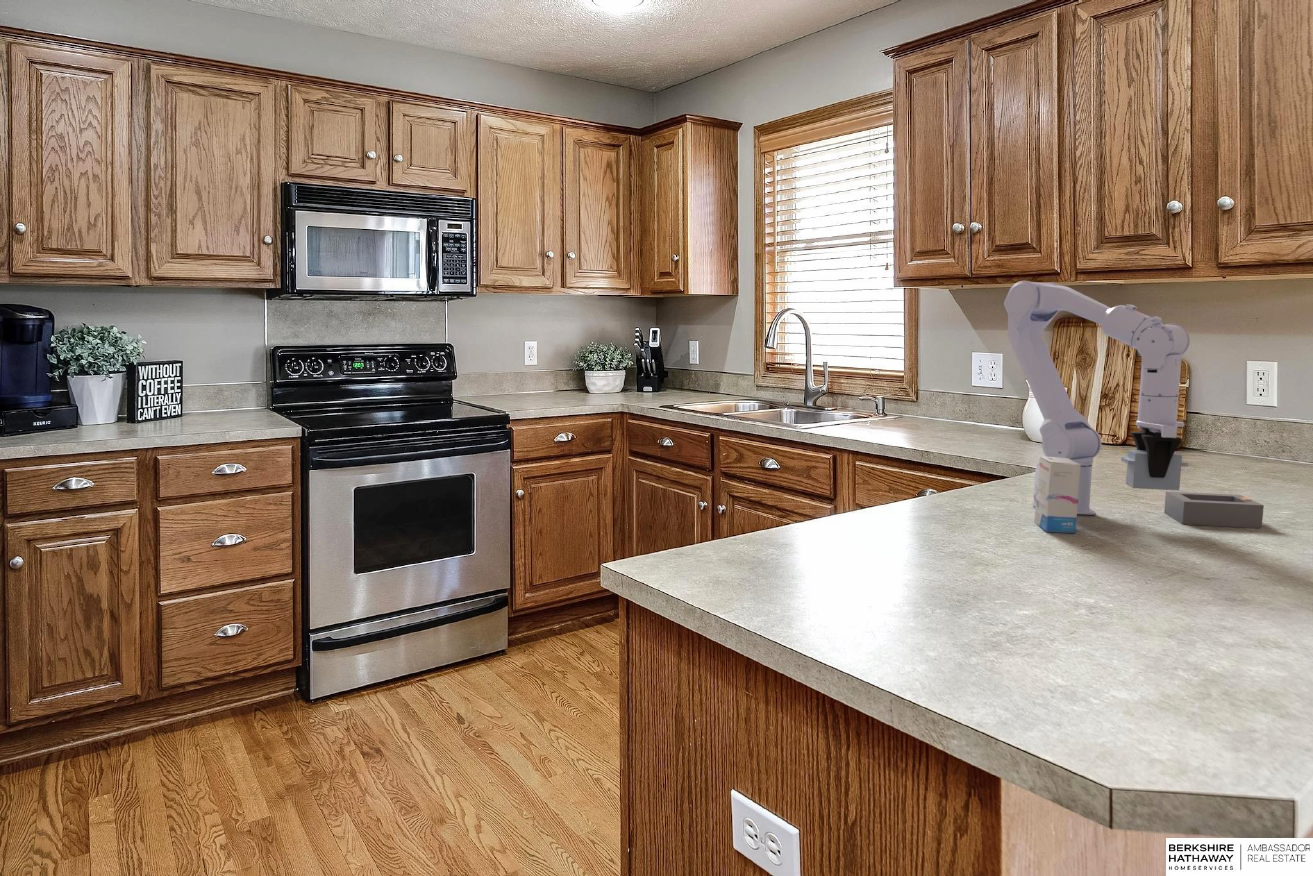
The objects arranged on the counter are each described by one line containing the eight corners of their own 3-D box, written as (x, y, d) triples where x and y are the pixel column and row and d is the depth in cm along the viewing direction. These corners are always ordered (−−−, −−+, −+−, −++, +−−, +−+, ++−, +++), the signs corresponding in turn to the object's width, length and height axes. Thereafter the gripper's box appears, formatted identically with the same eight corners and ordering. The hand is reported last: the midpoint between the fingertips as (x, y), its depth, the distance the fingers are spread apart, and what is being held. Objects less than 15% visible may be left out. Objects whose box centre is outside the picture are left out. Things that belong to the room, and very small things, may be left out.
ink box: (1077, 534, 140) (1082, 463, 138) (1045, 532, 141) (1049, 462, 139) (1063, 523, 148) (1068, 456, 147) (1033, 521, 149) (1037, 455, 148)
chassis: (1182, 524, 147) (1184, 500, 147) (1164, 512, 157) (1165, 490, 156) (1261, 528, 144) (1263, 504, 144) (1238, 516, 154) (1240, 493, 153)
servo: (1126, 487, 144) (1129, 449, 143) (1119, 483, 148) (1122, 446, 148) (1185, 490, 142) (1189, 451, 141) (1177, 486, 146) (1180, 448, 145)
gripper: (1200, 399, 135) (1193, 483, 137) (1171, 393, 149) (1165, 469, 151) (1151, 398, 137) (1145, 481, 139) (1127, 392, 151) (1121, 467, 153)
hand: (1152, 475), depth 145 cm, fingers closed on servo, 4 cm apart
